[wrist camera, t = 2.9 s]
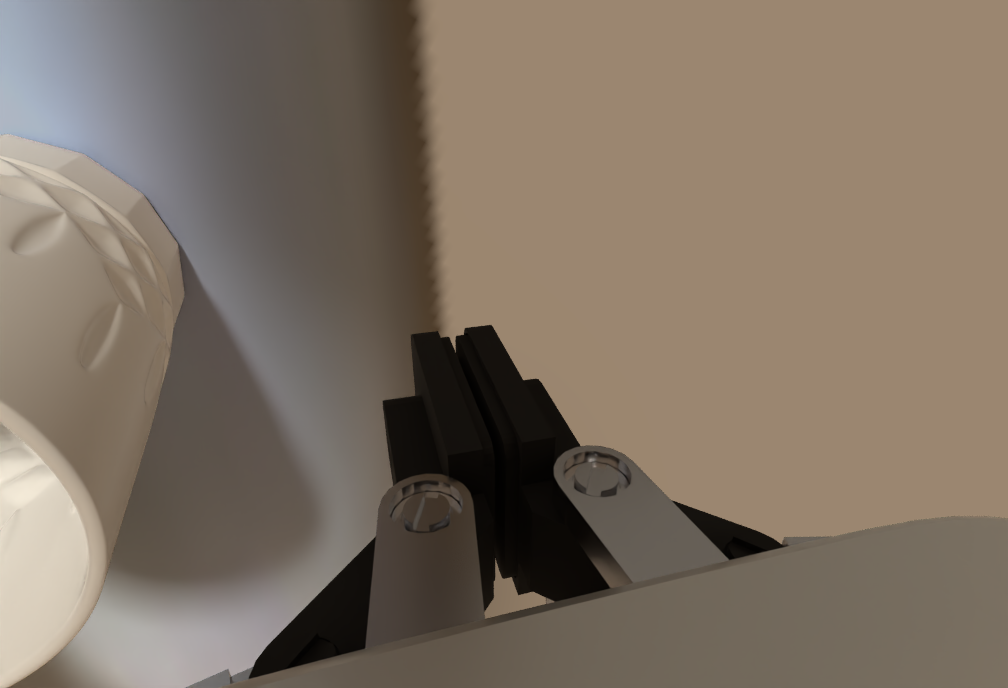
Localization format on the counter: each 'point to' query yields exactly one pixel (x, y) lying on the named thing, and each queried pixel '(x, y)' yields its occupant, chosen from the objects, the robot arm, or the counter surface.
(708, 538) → the robot arm
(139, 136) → the counter surface
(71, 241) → the white cup
